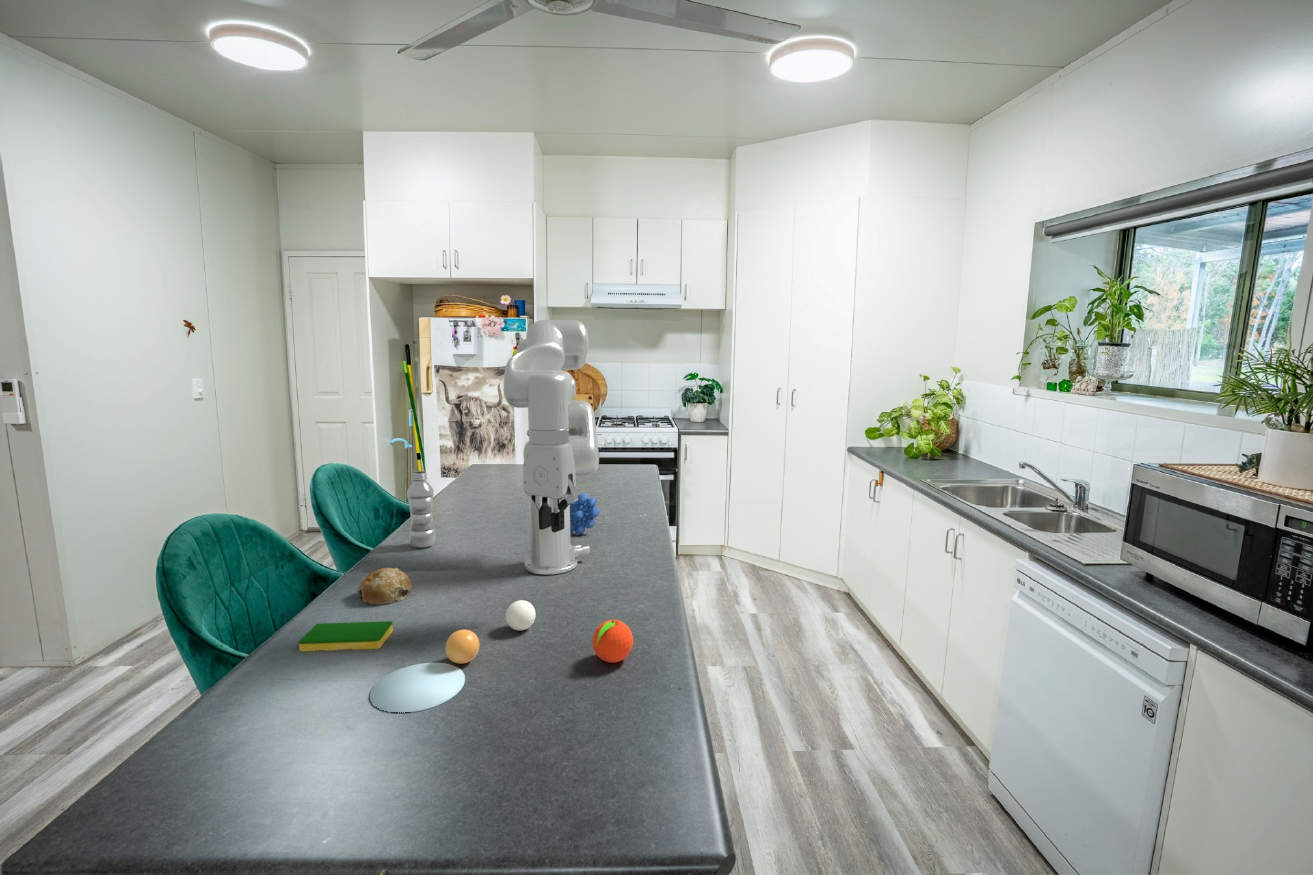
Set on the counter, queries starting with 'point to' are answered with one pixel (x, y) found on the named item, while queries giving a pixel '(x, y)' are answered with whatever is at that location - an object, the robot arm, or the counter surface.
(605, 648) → the clementine
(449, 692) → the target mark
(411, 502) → the plastic bottle
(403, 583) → the bread roll
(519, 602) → the cue ball
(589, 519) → the grapes
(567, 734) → the counter surface
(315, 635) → the dish sponge
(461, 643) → the orange ball
